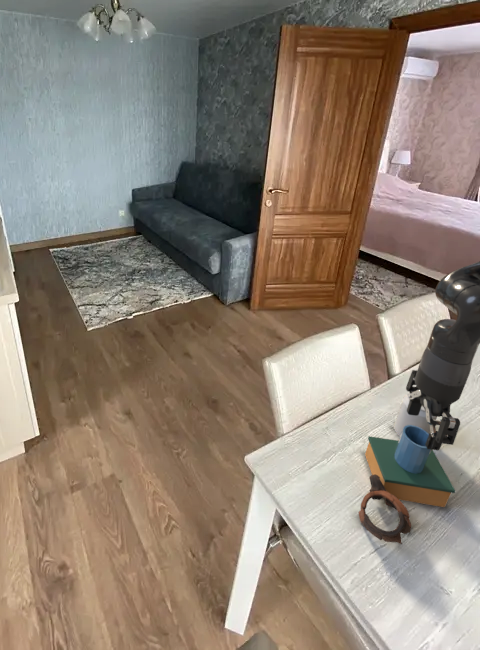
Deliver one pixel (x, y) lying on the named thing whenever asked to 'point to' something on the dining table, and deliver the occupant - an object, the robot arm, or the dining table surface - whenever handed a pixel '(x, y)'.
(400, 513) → the brown jagged ring
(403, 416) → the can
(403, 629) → the dining table surface
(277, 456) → the dining table surface
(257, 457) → the dining table surface
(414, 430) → the cup
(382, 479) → the container
